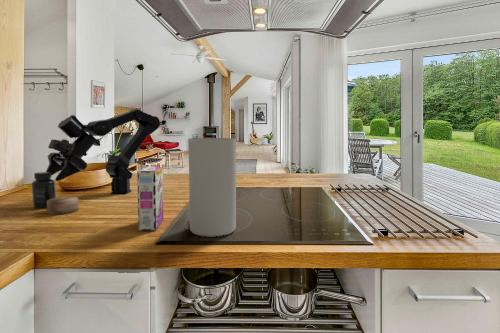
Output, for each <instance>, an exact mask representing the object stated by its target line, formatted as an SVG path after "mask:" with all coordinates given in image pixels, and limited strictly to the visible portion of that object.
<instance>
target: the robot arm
mask: <svg viewBox="0 0 500 333" xmlns="http://www.w3.org/2000/svg"><path fill="white" fill-rule="evenodd" d="M133 121H135V122H136V123H137V124H138V129H137V130H136V132H135V134H134V135H133V136H132V137H131V139H130V140H129V141H128V143H127V144H126V145H125V147H124V148H123V149H122V151H121V152H119V154H118V155H114V154H112V155H111V156H110V158H109V159H108V161H106V165H105V171H106V173H107V174H108V175H109V177H110V178H111V182H110V183H111V184H110V187H111V192H110V194H112V195H115V194H117V195H121V194H123V195H126V194H129V193H131V192H132V191H133V190H132V189H131V185H130V184H131V183H130V182H131V181H130V180H131V179H132V178H133V173H132V172H131V171H130V170H129V167H130V163H131V162H130V161H131V160H132V158H133V156H134V155H135V154H136V152H137V151H138V149H139V148H140V147H141V146H142V144H143V143H144V141H146V139H147V138H148V137H149V135H151V134H153V133H154V132H156V131H157V130H158V129H159V128H160V126H161V121H160V119H159V117H158V116H155V115H152V114H149V113H147V112H144V111H142V110H141V109H138V108H137V109H133V108H132V109H130V110H129V111H126V112H123V113H121V114H118V115H115V116H113V117H110V118H107V119H100V120H94V121H93V120H92V121H90V122H88V123H87V124H83V123H82V122H81V121H80V120H79V119H78V118H77V117H76V116H75V115H74V114H71V115H70V116H68V117H67V118H65V119H63V120H61V121H60V122H59V124H58V125H57V128H58V129H59V130H61V132H63V133H64V134H65V135H66V136H67V137H68V138H70V139H74V140H73V142H71V143H70V141H69V140H68V139H64V138H63V139H62V140H60V139H59V140H58V139H51V140H50V142H49V144H48V149H52V150H55V151H57V152H50V153H49V154H48V155H47V160H48V163H49V164H48V166H47V169H46V171H45V172H51V177H52V176H53V175H55V174H57V173H58V174H57V176H56V177H55V179H54V181H56V182H59V181H62V180H64V179H66V178H68V177H70V176H72V175H76V174H77V173H81V172H82V171H84V172H85V170H86V168H88V162H86V161H85V160H84V159H83V157H87V155H88V153H87V152H88V151H89V150H90V149H91V148H92V147H93V146H95V147H101V141H100V138H96V137H104V136H106V135H108V134H109V133H111V132H112V131H113V130H114V129H115V128H117V127H120V126H123V125H125V124H127V123H130V122H133Z"/></svg>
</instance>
